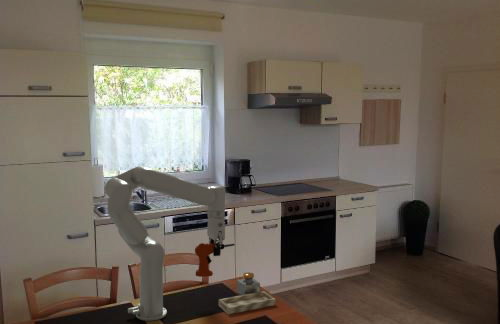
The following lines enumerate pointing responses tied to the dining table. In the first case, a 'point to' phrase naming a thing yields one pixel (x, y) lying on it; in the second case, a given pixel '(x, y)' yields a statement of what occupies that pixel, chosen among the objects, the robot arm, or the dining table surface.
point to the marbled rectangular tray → (246, 302)
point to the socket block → (247, 287)
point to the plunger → (248, 277)
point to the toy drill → (206, 258)
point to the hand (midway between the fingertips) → (214, 253)
